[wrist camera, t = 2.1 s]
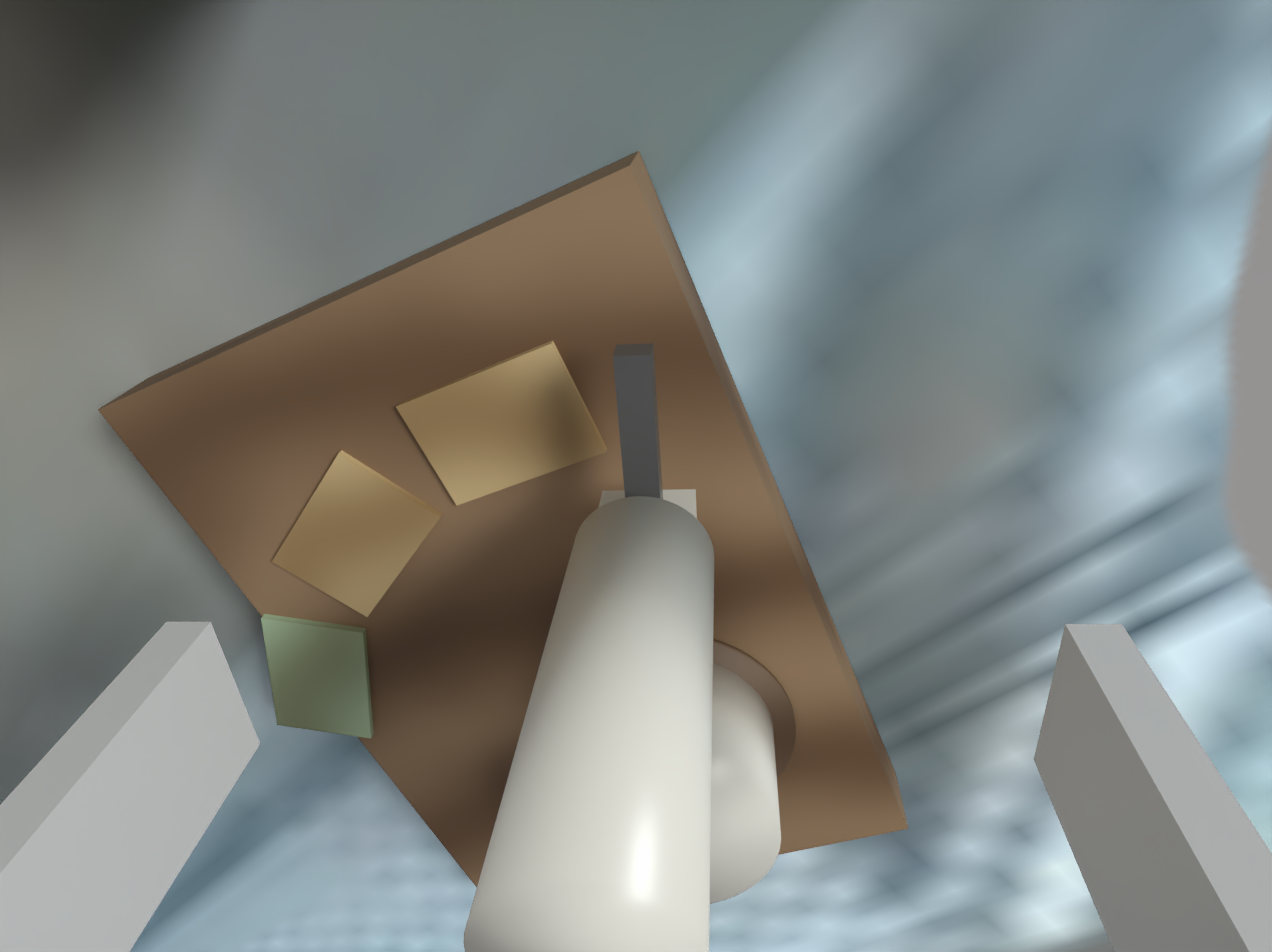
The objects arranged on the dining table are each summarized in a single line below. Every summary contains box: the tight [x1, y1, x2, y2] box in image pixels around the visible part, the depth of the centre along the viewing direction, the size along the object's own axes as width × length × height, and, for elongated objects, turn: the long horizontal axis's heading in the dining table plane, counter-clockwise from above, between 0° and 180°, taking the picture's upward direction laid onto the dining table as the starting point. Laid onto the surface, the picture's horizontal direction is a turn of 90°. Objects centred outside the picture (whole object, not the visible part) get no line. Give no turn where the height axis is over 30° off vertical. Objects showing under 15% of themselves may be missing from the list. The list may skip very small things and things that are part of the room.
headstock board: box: [98, 151, 908, 887], centre depth 23 cm, size 20×16×2 cm
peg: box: [464, 343, 781, 952], centre depth 16 cm, size 15×6×11 cm, turn 4°
